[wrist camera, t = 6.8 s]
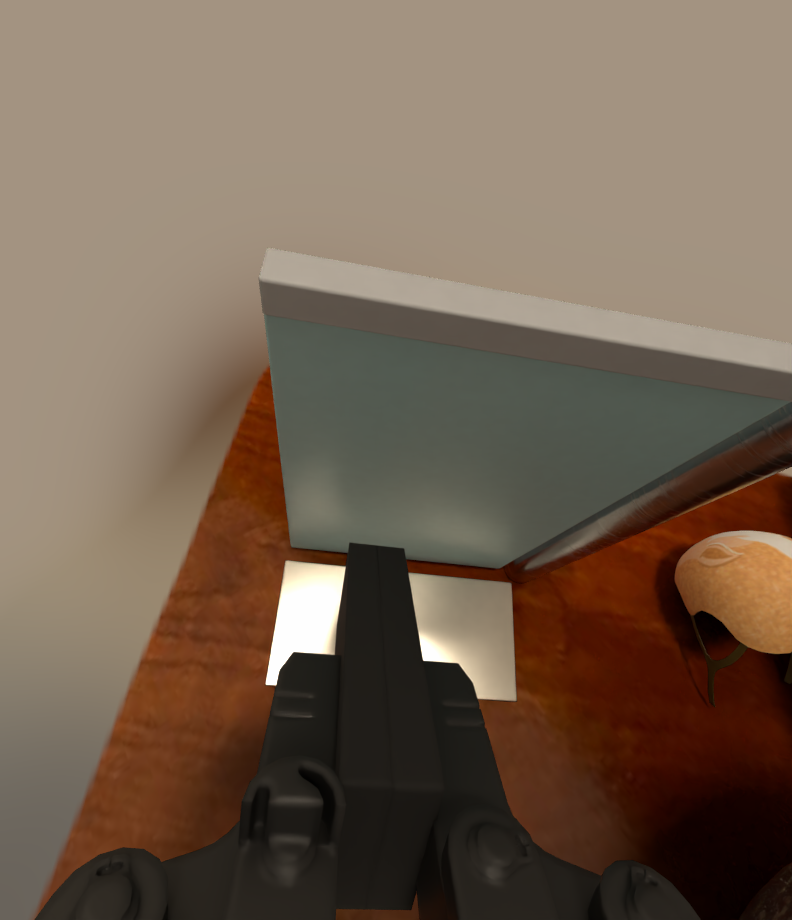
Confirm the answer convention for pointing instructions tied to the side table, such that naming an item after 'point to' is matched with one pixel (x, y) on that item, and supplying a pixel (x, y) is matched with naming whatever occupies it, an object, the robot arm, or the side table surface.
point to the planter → (772, 899)
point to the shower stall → (525, 565)
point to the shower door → (484, 407)
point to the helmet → (741, 592)
